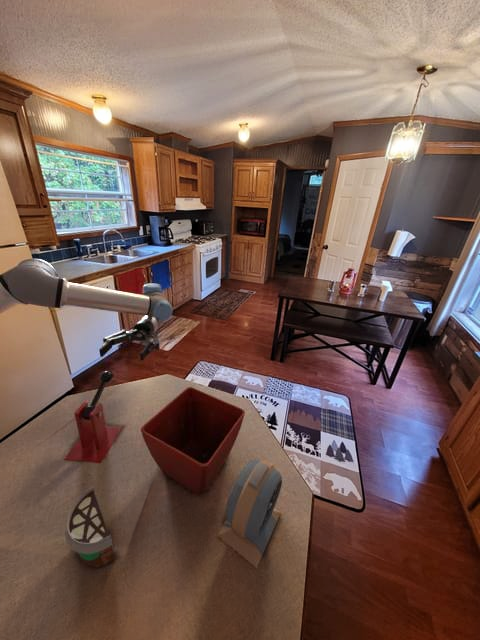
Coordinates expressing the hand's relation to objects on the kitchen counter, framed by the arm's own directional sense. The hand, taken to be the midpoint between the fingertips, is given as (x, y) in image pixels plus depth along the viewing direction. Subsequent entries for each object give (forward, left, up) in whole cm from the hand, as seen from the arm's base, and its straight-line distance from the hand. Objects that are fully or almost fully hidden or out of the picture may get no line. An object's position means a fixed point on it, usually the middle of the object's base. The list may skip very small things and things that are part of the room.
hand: (121, 355), depth 84 cm
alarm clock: (+55, -18, -19) cm, 61 cm away
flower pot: (+36, -11, -19) cm, 42 cm away
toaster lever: (+5, -13, -6) cm, 15 cm away
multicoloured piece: (+27, -36, -19) cm, 49 cm away
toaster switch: (+7, -18, -19) cm, 27 cm away
